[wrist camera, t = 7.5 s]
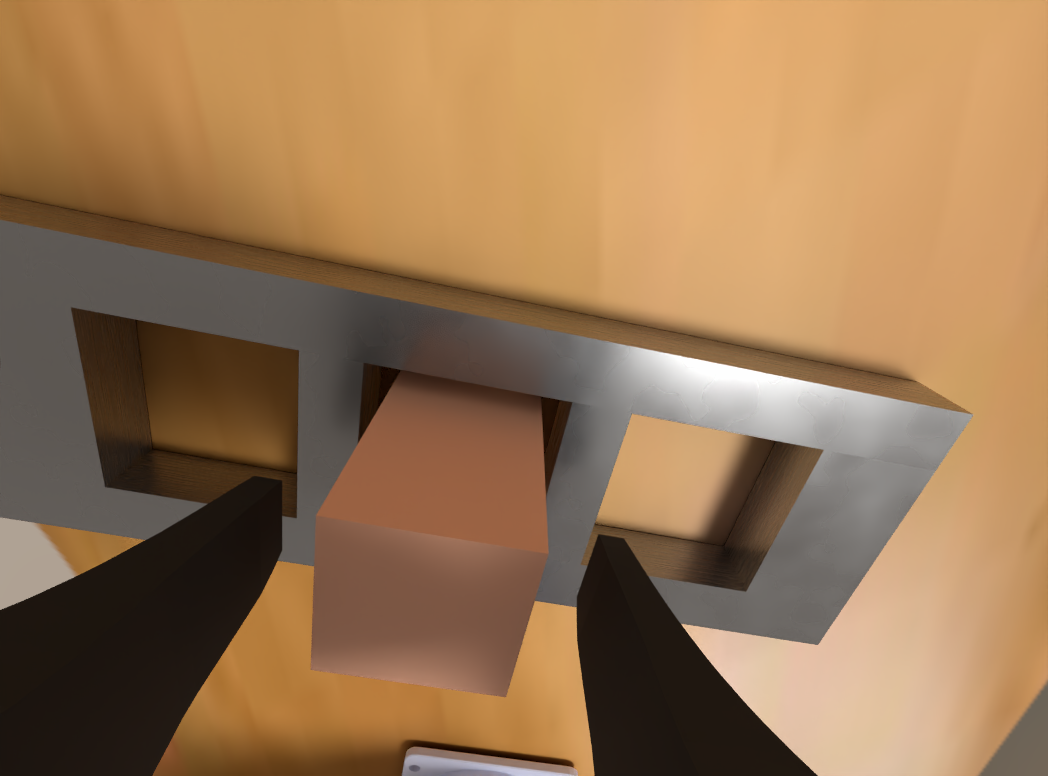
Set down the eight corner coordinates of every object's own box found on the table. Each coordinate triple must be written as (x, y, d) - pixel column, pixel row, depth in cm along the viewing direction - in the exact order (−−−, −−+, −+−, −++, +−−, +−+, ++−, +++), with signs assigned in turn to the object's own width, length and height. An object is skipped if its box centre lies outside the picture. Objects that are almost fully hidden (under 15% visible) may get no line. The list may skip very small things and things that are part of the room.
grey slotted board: (789, 596, 19) (817, 644, 17) (55, 476, 17) (-3, 516, 15) (919, 382, 15) (973, 414, 13) (-13, 192, 13) (-103, 198, 11)
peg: (515, 490, 17) (505, 696, 10) (395, 469, 16) (310, 670, 10) (540, 384, 15) (548, 553, 9) (407, 358, 15) (315, 515, 8)
